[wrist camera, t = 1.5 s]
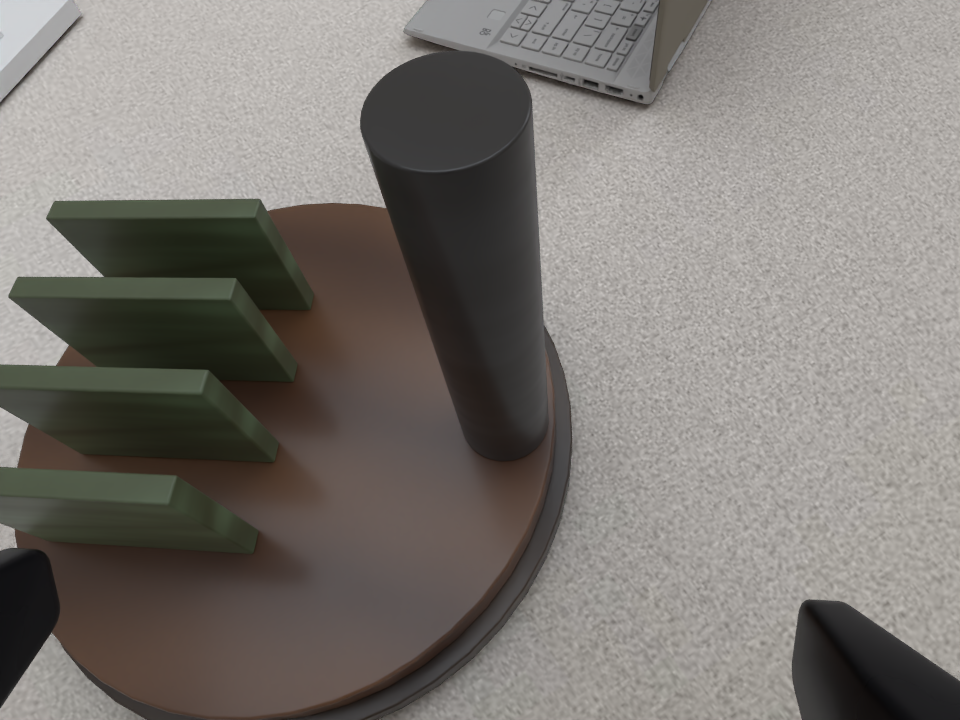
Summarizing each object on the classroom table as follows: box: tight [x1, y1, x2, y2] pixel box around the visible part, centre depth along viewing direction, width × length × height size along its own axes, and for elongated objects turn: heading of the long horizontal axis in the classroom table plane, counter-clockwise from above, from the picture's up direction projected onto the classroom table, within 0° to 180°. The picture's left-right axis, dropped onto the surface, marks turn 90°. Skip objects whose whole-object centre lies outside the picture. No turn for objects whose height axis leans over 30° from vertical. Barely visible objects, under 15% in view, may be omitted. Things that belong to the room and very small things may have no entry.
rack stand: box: [61, 326, 572, 720], centre depth 23 cm, size 18×18×1 cm
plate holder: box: [0, 51, 556, 720], centre depth 17 cm, size 17×17×13 cm
